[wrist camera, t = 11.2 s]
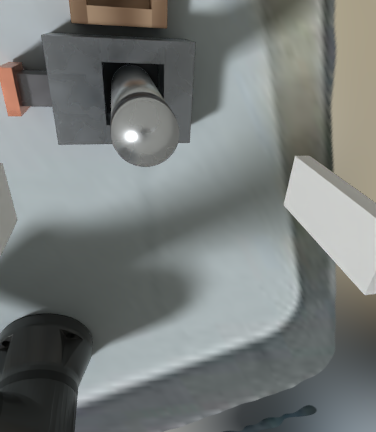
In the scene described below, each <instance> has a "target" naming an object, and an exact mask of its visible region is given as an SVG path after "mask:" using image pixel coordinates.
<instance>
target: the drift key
mask: <svg viewBox="0 0 376 432" xmlns="http://www.w3.org/2000/svg"><path fill="white" fill-rule="evenodd" d="M0 82H1V87H2V91H3V95H4V100H5V104H6V108H7V112H8V116H22V115H23V114H24V113H25V112H26V111H27V110H28V108H29V107H30V106H43V107H52V100H51V94H50V88H49V82H48V75H47V71H44V70H23V66H22V62H8V63H6V64H3V65H1V66H0Z"/></svg>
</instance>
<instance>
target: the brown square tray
mask: <svg viewBox="0 0 376 432" xmlns="http://www.w3.org/2000/svg"><path fill="white" fill-rule="evenodd" d="M167 1H168V0H69V5H70V14H71V23H78V24H96V25H114V26H131V27H149V28H167Z"/></svg>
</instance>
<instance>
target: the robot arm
mask: <svg viewBox="0 0 376 432" xmlns="http://www.w3.org/2000/svg"><path fill="white" fill-rule="evenodd" d="M284 206H285V207H286V208H287V209H288V210H289V212H290V213H291V214H292V215H293V216H294V217H295V218H296V219H297V220H298V222H299V223H300V224H301V225H302V226H303V227H304V228H305V229H306V230H307V232H308V233H309V234H310V235H311V236H312V237H313V238H314V239H315V240H316V242H317V243H318V244H319V245H320V246H321V247H322V248H323V249H324V250H325V251H326V253H327V254H328V255H329V256H330V257H331V258H332V259H333V260H334V261H335V263H336V264H337V265H338V266H339V267H340V268H341V269H342V270H343V271H344V272H345V274H346V275H347V276H348V277H349V278H350V279H351V280H352V281H353V282H354V284H355V285H356V286H357V287H358V288H359V289H360V290H361V291H362V292H363V294H364V295H368V294H376V203H375V202H374V201H372V200H371V199H370V198H368V197H367V196H365V195H364V194H363V193H361V192H360V191H358V190H357V189H356V188H354V187H353V186H351V185H350V184H349V183H347V182H346V181H344V180H343V179H342V178H340V177H339V176H337V175H336V174H335V173H333V172H332V171H330V170H329V169H327V168H326V167H325V166H323V165H322V164H320V163H319V162H318V161H316V160H315V159H313V158H312V157H311V156H295V159H294V163H293V167H292V172H291V176H290V180H289V184H288V188H287V193H286V197H285V201H284ZM16 222H17V216H16V212H15V209H14V205H13V201H12V197H11V194H10V190H9V186H8V182H7V178H6V175H5V171H4V167H3V163H0V257H1V255H2V253H3V250H4V248H5V246H6V244H7V242H8V240H9V237H10V235H11V233H12V231H13V229H14V227H15V224H16ZM92 342H93V341H92V336H91V334H90V332H89V330H88V329H87V328H86V327H85V326H84V325H83V324H81V323H80V322H78V321H76V320H74V319H72V318H69V317H66V316H62V315H55V314H39V315H32V316H28V317H24V318H22V319H19V320H17V321H15V322H13V323H11V324H10V325H8V326H7V327H6V328H5V329H4V330H3V331H2V332H1V334H0V432H75V420H76V407H77V395H78V387H79V384H80V382H81V380H82V377H83V375H84V373H85V370H86V368H87V366H88V364H89V361H90V359H91V355H92Z"/></svg>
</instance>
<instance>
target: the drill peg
mask: <svg viewBox="0 0 376 432" xmlns="http://www.w3.org/2000/svg"><path fill="white" fill-rule="evenodd" d="M110 134H111V139H112V143H113V146H114V148H115V150H116V151H117V153H118V154H119V155H120V156H121V157H122V158H123V159H124V160H125V161H127V162H129V163H131V164H133V165H136V166H141V167H150V166H155V165H158V164H160V163H162V162H164V161H165V160H167V159H168V158H169V157H170V156H171V155H172V154H173V152H174V151H175V149H176V147H177V144H178V141H179V126H178V123H177V120H176V117H175V115H174V113H173V112H172V110H171V109H170V107H169V105H168V104H167V103H166V102H165V100H164V99H163V97H162V96H161V94H160V92H159V91H158V89H157V88H156V86H155V85H154V83H153V81H152V80H151V78H150V77H149V75H148V74H147V72H146V71H145V70H144V69H142V68H141V67H139V66H136V65H125V66H122V67H120V68H119V69H118V70H117V71H116V72H115V73H114V75H113V77H112V81H111V120H110Z"/></svg>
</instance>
